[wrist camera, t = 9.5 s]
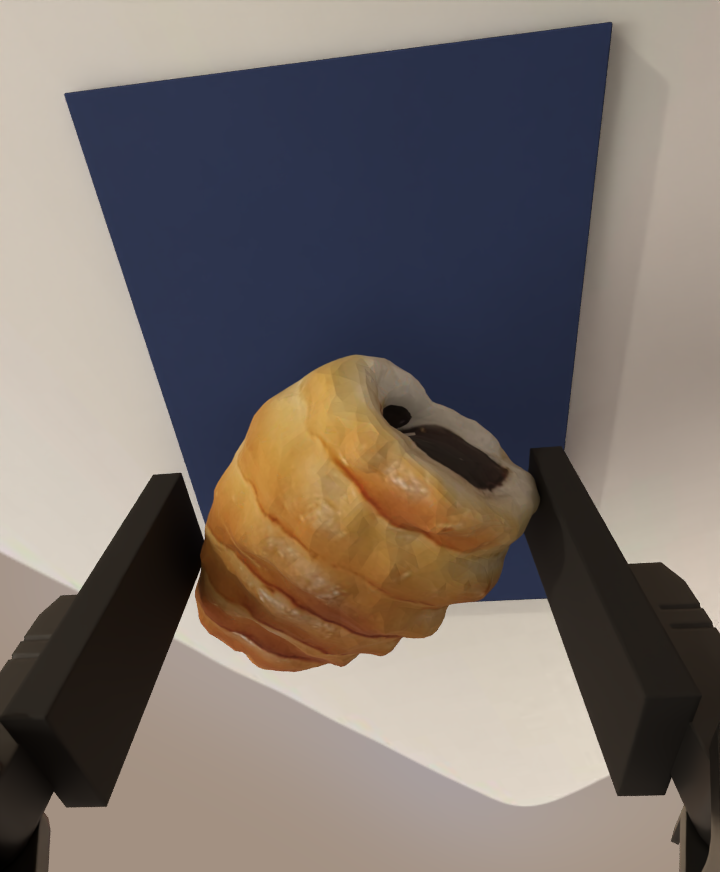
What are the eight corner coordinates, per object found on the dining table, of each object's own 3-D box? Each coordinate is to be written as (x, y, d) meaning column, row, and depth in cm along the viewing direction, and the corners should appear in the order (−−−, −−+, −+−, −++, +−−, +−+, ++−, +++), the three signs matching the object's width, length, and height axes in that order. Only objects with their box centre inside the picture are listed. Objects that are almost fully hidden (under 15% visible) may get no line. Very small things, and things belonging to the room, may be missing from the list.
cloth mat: (607, 24, 13) (613, 21, 13) (545, 591, 23) (547, 599, 23) (70, 94, 14) (63, 93, 14) (235, 606, 24) (234, 613, 24)
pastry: (341, 649, 17) (332, 771, 14) (152, 558, 16) (90, 674, 12) (549, 456, 13) (604, 565, 10) (325, 302, 11) (303, 373, 8)
